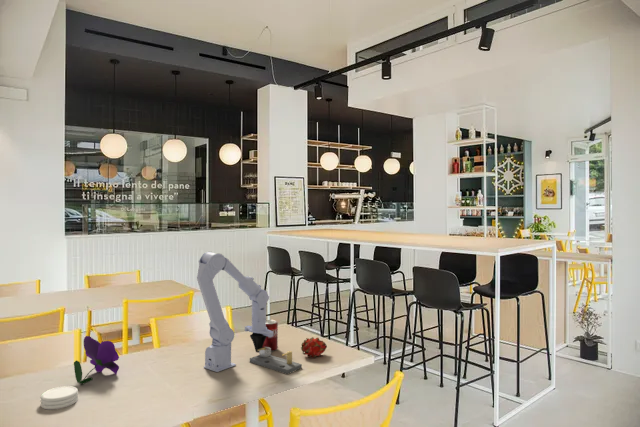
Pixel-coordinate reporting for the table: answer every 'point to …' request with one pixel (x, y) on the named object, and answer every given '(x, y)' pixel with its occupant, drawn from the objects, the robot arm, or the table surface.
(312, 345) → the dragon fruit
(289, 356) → the cube slider plate
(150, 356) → the table surface
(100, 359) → the flower
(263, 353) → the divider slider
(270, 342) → the soda can
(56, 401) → the coaster
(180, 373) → the table surface
